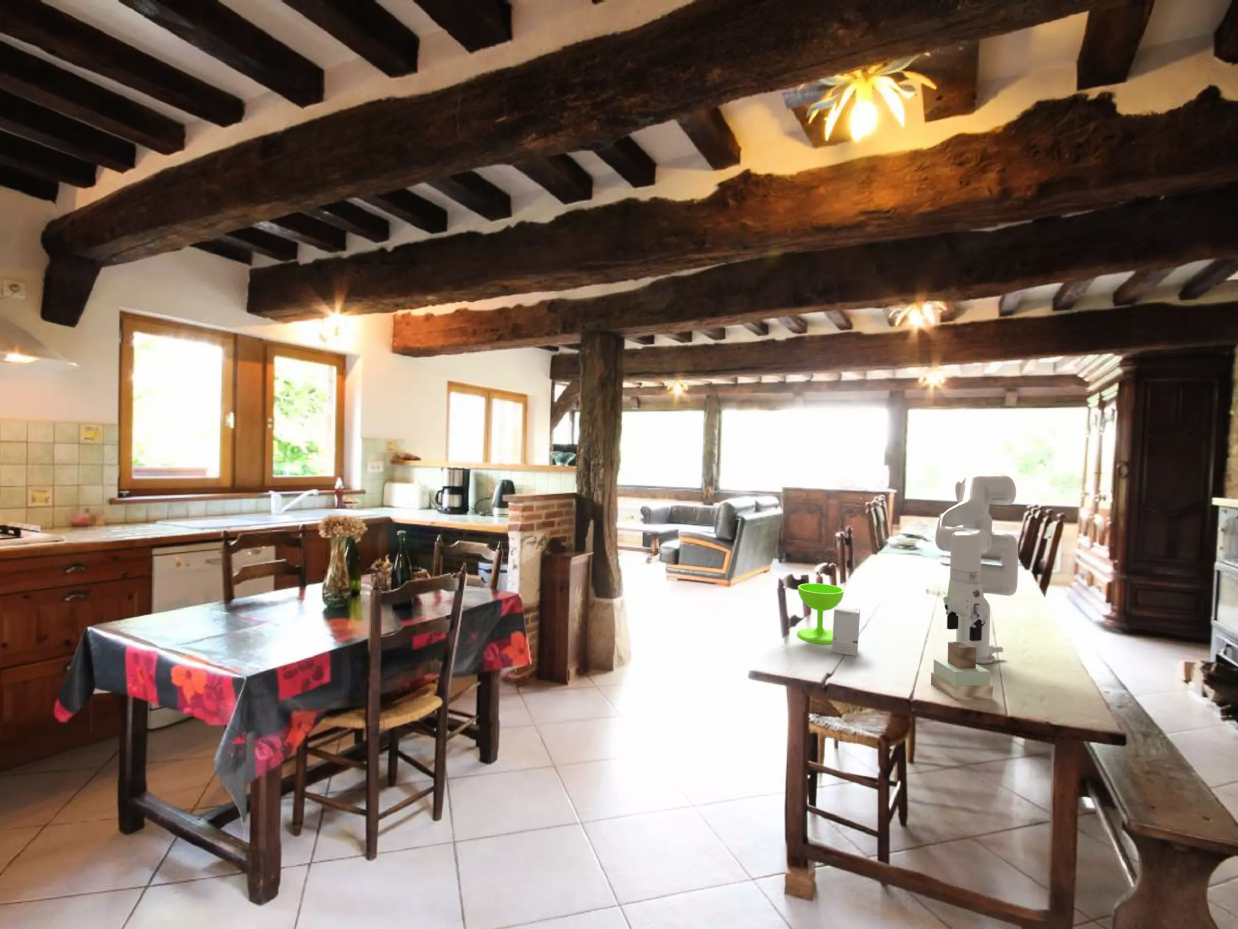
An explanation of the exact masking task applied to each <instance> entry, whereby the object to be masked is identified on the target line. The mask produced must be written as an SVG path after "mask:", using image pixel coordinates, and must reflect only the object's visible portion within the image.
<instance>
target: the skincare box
mask: <svg viewBox="0 0 1238 929" xmlns="http://www.w3.org/2000/svg"><path fill="white" fill-rule="evenodd" d="M833 609H834V612H833V623H832V624H833V625H832V631H833V639H832V644H831V653H833V654H839V655H847V656H854V657H858V656H857V655H858V653H859V652H858V648H859V635H860V634H859V633H860V618H861V616H860V615H861V609H860V608H859V609H858V608H852V607H847V606H838V605H837V606H835V607H834V608H833Z"/></svg>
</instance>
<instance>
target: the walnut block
mask: <svg viewBox="0 0 1238 929" xmlns="http://www.w3.org/2000/svg"><path fill="white" fill-rule="evenodd" d="M947 659H948V663H949V664H951V665H953V666H955V667H957V668H959V669H969V668H976V664H977V663H976V647H975V646H973V645H971V644H969V643H966V642H964V641H961V642H956V641H948V642H947Z"/></svg>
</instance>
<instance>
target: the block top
mask: <svg viewBox="0 0 1238 929" xmlns="http://www.w3.org/2000/svg"><path fill="white" fill-rule="evenodd" d="M933 672H934V673H935V674H937V675H938V676H940V677H941V678H943V679H944V680H946V681H947V682H949V683H951V684H952V685H954V686H988V685H989V684H990V676H991V675H990V670H988V669H986V668H984V667H983V666H981V665H978V663H976V668H969V669H959V668H957V667H955V666H953V665H951V664H949V663H948V658H933Z"/></svg>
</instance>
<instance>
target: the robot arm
mask: <svg viewBox="0 0 1238 929" xmlns="http://www.w3.org/2000/svg"><path fill="white" fill-rule="evenodd" d="M954 489H955V490H954V492H955V498H956V501H957V504H955V505H954V506H952V507H950V508H948V509H947V510H946V511H944V512H943V513H942V514H941V516H940V517H939V518H938V522H937V526H936V529H935V539H934V540H935V545H936V547H937V548H938V550H940V551H942V552H948V553H950V555H949V556H950V558H949V559H950V562H949V566H950V567H949V580H948V588H947V596H944V597H942V599H943V604H944V609H945V615H946V629H947V630H956V631H955V642H961V641H964V642H966V643H969V644H971V645H973V646H975V647H976V664H992V663H994V662H995V656H994V655H993V654H995V653H997V654H998V653H1003V651H1004V648H1003V647H1002V646H994V645H993V644H990V634H991V630H990V629H991V605H990V603H989V602H988V600H987V599H986V598H985V595H984V594H990V595H999V596H1008V597H1010V596H1013V595H1015V594H1016V592H1017V588H1018V578H1019V577H1018V575H1019V574H1018V573H1019V572H1018V571H1019V570H1018V569H1019V546H1018V541H1017V538H1016V537H1015V536H1014V535H1012V534H1009V533H1002V532H993V517H992V515H991V514H990V513H989V512H990V505H998V506H999V505H1001V506H1010V505H1012V504H1013V503H1015V502H1014V501H1015V499H1016V497H1017V487H1016V484H1015V482H1014V480H1013V478H1011V477H1010V476H1008V475H1002V474H998V475H997V474H979V473H978V474H970V475H967V476H965V477H964V478H963V479H962V478H961V479H959V480H958V481H957V482H956V484H955V487H954ZM961 526H962V527H961ZM982 561H986V562H997V563H999V565H998V564H991V563H990V564H989V563H984V562H983V563H982Z"/></svg>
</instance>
